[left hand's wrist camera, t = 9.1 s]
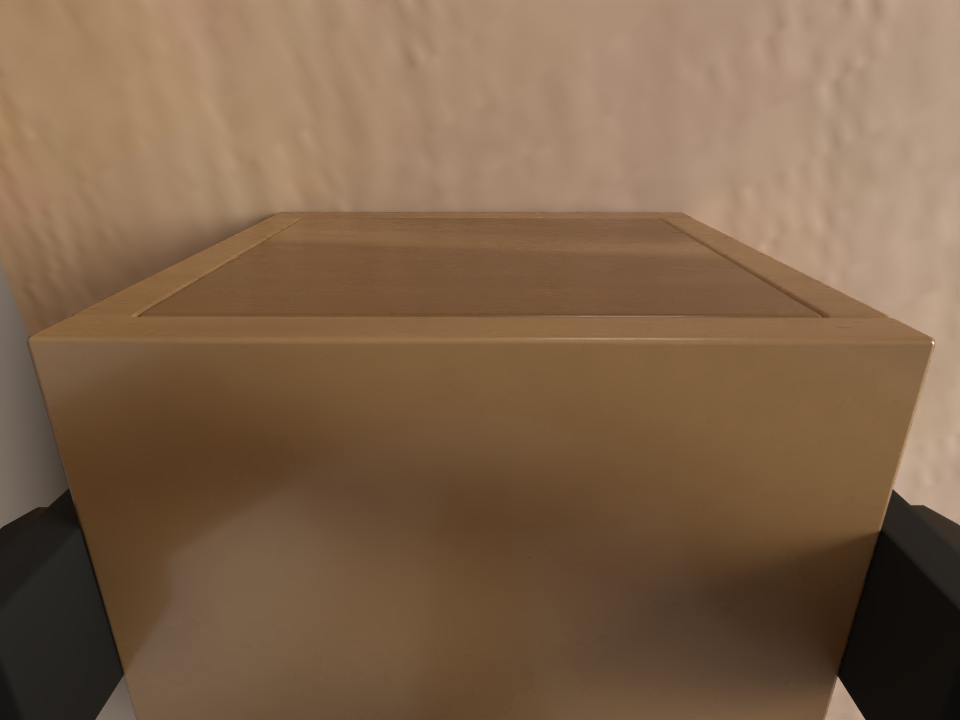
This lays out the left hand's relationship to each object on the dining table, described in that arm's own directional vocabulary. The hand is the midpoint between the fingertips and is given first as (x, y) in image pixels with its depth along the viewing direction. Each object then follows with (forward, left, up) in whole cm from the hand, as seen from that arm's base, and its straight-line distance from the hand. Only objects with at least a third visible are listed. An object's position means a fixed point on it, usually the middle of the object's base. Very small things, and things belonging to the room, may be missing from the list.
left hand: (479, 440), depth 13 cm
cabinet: (+5, 0, -5) cm, 7 cm away
